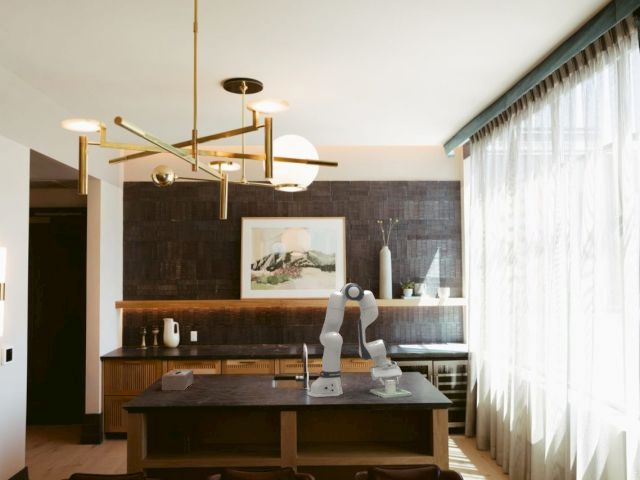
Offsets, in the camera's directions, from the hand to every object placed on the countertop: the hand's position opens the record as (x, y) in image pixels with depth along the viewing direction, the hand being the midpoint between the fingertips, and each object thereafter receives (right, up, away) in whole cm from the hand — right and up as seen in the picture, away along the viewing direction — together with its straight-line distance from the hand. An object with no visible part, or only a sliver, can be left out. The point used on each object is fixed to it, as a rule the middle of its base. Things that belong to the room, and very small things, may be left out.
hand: (390, 384), depth 367 cm
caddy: (0, -6, 0) cm, 6 cm away
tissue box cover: (-139, -10, +30) cm, 143 cm away
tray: (0, -6, 0) cm, 6 cm away
